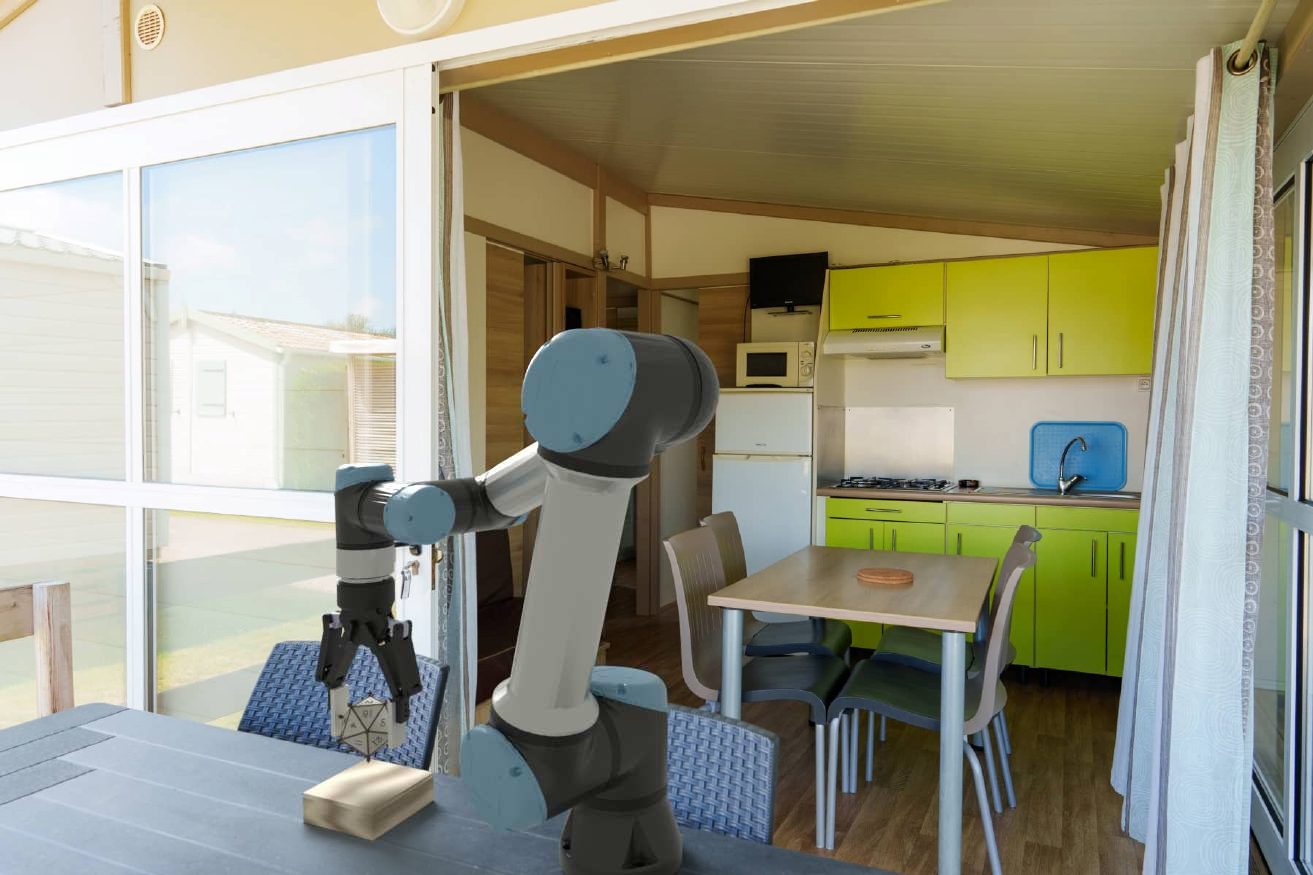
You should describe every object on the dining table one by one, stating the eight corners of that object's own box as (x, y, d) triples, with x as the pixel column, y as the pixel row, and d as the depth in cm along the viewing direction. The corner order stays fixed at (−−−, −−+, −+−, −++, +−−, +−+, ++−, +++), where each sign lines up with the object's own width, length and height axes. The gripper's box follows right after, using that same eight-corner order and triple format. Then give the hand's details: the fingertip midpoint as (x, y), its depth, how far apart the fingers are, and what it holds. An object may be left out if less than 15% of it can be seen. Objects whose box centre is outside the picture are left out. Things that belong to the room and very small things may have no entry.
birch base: (433, 800, 120) (433, 772, 119) (372, 840, 109) (372, 809, 109) (367, 784, 125) (367, 758, 124) (303, 821, 114) (302, 792, 113)
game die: (360, 787, 115) (314, 742, 110) (364, 742, 122) (321, 698, 117) (418, 753, 115) (375, 707, 110) (418, 710, 122) (377, 665, 118)
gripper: (449, 578, 114) (451, 742, 115) (326, 565, 123) (328, 717, 124) (411, 589, 107) (414, 763, 108) (284, 575, 116) (287, 735, 117)
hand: (368, 738), depth 116 cm, fingers closed on game die, 9 cm apart
